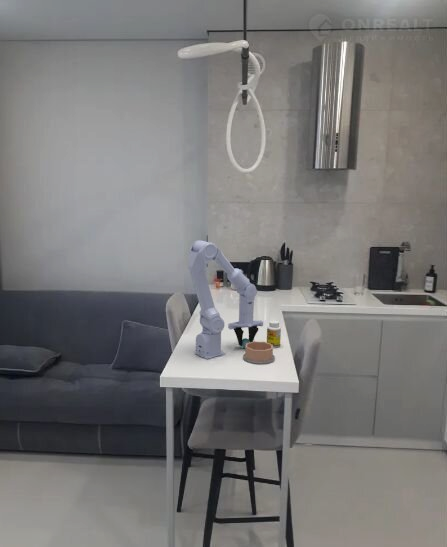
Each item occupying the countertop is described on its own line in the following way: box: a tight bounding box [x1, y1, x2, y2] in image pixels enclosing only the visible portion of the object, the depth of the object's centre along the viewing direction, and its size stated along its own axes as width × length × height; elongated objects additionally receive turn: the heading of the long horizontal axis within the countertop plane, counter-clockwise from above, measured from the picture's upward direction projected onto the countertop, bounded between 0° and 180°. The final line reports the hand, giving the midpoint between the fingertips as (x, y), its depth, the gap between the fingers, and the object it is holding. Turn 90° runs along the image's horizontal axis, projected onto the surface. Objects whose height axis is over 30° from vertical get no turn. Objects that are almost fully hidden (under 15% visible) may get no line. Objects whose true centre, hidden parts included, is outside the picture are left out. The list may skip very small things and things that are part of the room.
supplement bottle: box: [266, 320, 282, 349], centre depth 187 cm, size 6×6×10 cm
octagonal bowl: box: [242, 340, 276, 365], centre depth 173 cm, size 12×12×5 cm
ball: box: [241, 337, 250, 349], centre depth 185 cm, size 4×4×4 cm
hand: (245, 344), depth 185 cm, fingers closed on ball, 4 cm apart
